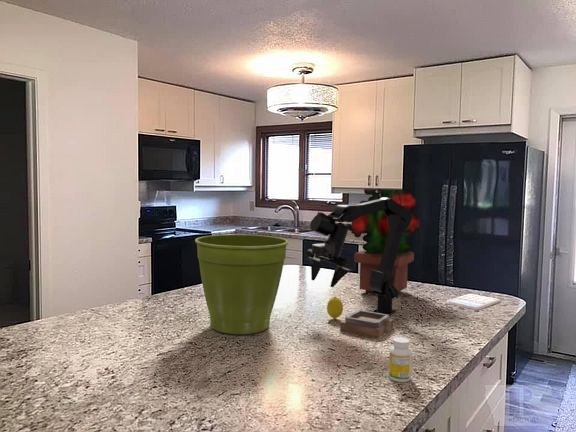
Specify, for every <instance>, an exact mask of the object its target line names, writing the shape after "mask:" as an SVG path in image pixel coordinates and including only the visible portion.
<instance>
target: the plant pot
mask: <svg viewBox="0 0 576 432" xmlns="http://www.w3.org/2000/svg"><path fill="white" fill-rule="evenodd" d="M194 242H195V244H196V248H197V250H196V251H197V259H198V263H199V271H200V278H201V284H202V288H203V294H204V299H205V302H206V306H207V310H208V314H209V318H210V319H209V321H210V323H209V324H210V327H211V328H212V329H213V330H215V331H217V332H220V333H223V334H229V335H252V334H258V333H261V332H263V331H266V330H267V329H268V328H269V327H270V321H271V315H272V311H273V308H274V306H275V302H276V298H277V295H278V291H279V287H280V282H281V279H282V275H283V274H282V273H283V269H284V262H285V260H286V251H287V245H288V244H289V240H287V239H285V238H282V237H277V236H271V235H270V236H269V235H259V234H258V235H257V234H215V235H212V234H211V235H206V236H205V235H204V236H201V237H200V236H199V237H197V238H195V239H194Z"/></svg>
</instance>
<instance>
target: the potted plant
mask: <svg viewBox="0 0 576 432" xmlns="http://www.w3.org/2000/svg"><path fill="white" fill-rule="evenodd" d="M363 190H364V191H363V192H364V194H365V195H368V196H369V195H371V196H370V197H368V199H367V200H361V201H359V204H361V203H365V202H369V201H373V200H377V199H381V198H383V197H384V198H392V199H393V200H394V201H395V202H397V203H398V204H400V205H402V206H403V207H405V208H406V209H409V210H410V211H411V212H413V209H415V208H416V207H417V205H418V199H417V197H415V196H414V195H413V193H412V191H413V189H393V188H392V189H389V188H388V189H384V188H364V189H363ZM350 224H351V226H352V228H353V230H354V231H353V232H351V231H350V233H351V234H353V235H354V237H355V238H357V239H358V238H360V237H361V236H362V234H365V235H364V236H363V237H362V241H363V242H364V244H362V250H360V251H358V252H354V254H353V255H354V257H353V258H354V260H353V262H354V263H359V266H360V268H359V290H364V292H365V294H368V295H375V296H377V295H376V294H373V292H372V289H371V287H370V280H369V279H370V277H371V272H372V270H375V271H376V270H377V269H378V268H379V266H380V262H381V258H382V255H383V251H384V248H385V244H386V241H387V237H388V234H389V225H388V216H387V215H386V214H385V213H384V211H383V210H381V211H377V212H373V213H369V214H365V215H362V216H360V217H359V218H358V219H357V220H355V221H353V222H350ZM416 230H417V232H418V233H419V232H420V215H418V216H417V215H416V213H415V214H414V213H412V220H411V223H410V225H409V227H408V228H407V229H406V230H405V231H404V232H403V234H402V238H401V241H400V245H399V249H398V252H397V256H396V259H395V263H394V266H393V270H392V272H393V276H394V284H393V286H394V287H395V288H396V289H397V290H398V292H399V294H401V293H402V291H403V290H405V289H407V288H408V269H409V264H410V263H412V262H414V261H415V252H412V251H410V249H411V248H412V245H411V243H409V242H408V238H410V237H411V236H412V234H414V233H416ZM365 242H366V243H365ZM408 250H409V251H408Z"/></svg>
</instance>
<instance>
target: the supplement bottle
mask: <svg viewBox="0 0 576 432" xmlns="http://www.w3.org/2000/svg"><path fill="white" fill-rule="evenodd" d="M410 342H411V341H410V339H409V338H405V337H394V338H392V346H391V347H390V348H389V359H388V360H389V365H388V377H389V378H390V379H391V381H395V382H399V383H407V382H409V381H411V379H412V362H413V361H412V360H413V351H412V349H411V348H410Z"/></svg>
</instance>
